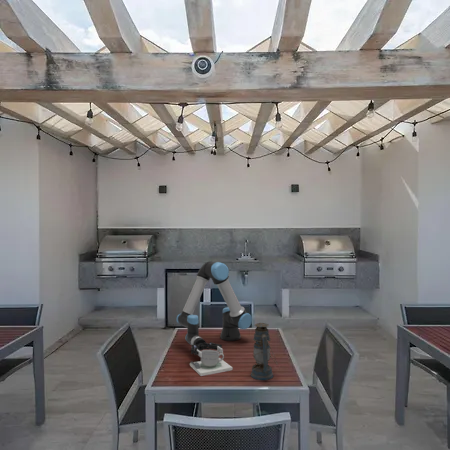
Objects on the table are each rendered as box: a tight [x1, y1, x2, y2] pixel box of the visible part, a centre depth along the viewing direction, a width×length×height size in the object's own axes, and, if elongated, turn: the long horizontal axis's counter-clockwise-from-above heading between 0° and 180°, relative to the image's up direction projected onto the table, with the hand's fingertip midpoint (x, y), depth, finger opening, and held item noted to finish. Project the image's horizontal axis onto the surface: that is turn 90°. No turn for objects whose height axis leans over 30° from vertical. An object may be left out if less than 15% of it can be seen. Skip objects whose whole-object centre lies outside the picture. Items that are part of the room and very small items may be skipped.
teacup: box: [200, 349, 225, 367], centre depth 227 cm, size 14×11×8 cm
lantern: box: [250, 322, 279, 381], centre depth 216 cm, size 19×14×30 cm
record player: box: [189, 357, 233, 377], centre depth 229 cm, size 20×18×4 cm
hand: (212, 353), depth 227 cm, fingers open, 13 cm apart
